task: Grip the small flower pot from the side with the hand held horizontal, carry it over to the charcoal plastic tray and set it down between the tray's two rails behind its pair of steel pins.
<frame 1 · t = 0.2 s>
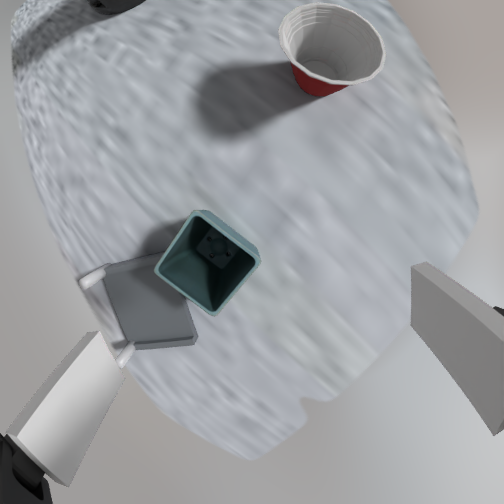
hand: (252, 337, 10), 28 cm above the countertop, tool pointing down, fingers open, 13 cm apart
flower pot: (219, 246, 38), on the countertop
plastic cup: (316, 76, 32), on the countertop
tray: (149, 301, 41), on the countertop
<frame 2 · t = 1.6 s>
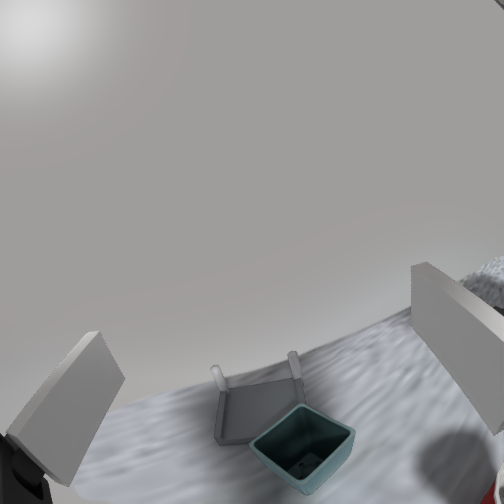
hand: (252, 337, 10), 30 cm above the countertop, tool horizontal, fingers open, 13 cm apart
flower pot: (309, 472, 28), on the countertop
tray: (263, 413, 41), on the countertop
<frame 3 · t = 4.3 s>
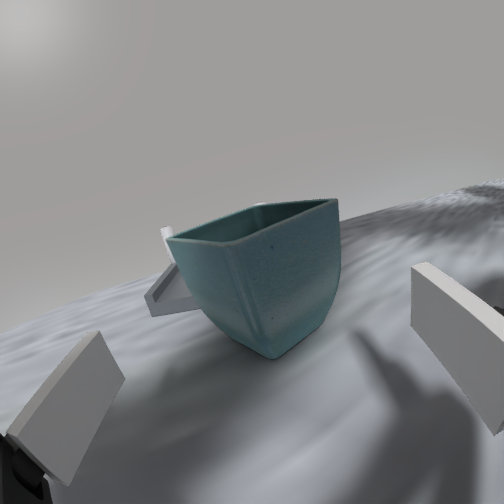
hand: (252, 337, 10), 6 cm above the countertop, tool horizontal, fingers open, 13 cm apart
flower pot: (276, 335, 21), on the countertop
tray: (220, 282, 34), on the countertop
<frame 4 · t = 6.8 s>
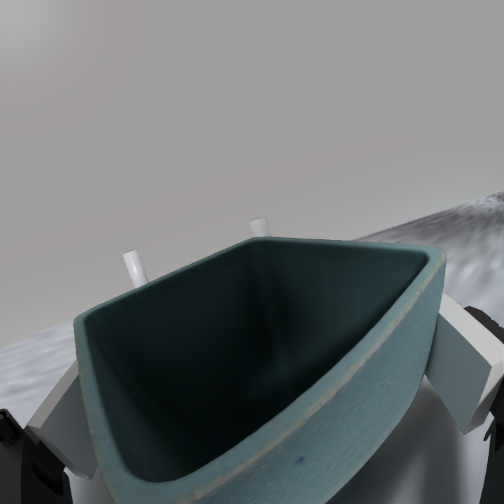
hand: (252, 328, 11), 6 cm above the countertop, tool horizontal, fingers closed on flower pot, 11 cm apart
flower pot: (286, 465, 10), on the countertop, touching gripper
tray: (202, 336, 23), on the countertop
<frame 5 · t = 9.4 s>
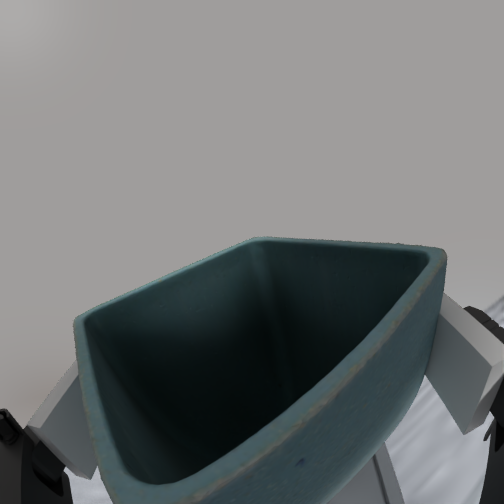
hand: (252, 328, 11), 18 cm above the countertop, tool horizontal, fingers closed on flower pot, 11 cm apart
flower pot: (286, 465, 10), point 12 cm above the countertop, touching gripper
when the fingers open (8 cm above the countertop, at t = 12.1 s): flower pot stays where it is, resting on tray.
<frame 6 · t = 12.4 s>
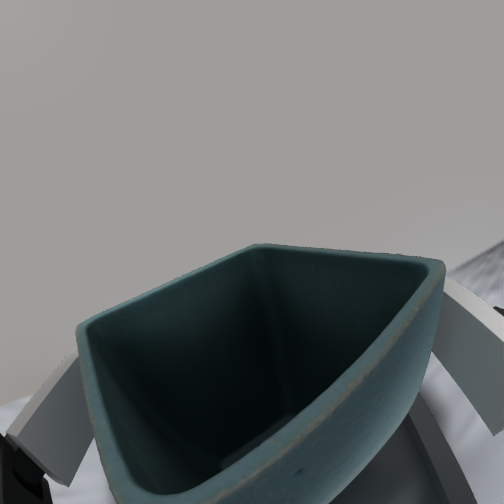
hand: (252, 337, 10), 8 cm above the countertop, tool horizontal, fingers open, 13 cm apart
flower pot: (286, 469, 10), point 1 cm above the countertop, touching tray
tray: (289, 479, 10), on the countertop
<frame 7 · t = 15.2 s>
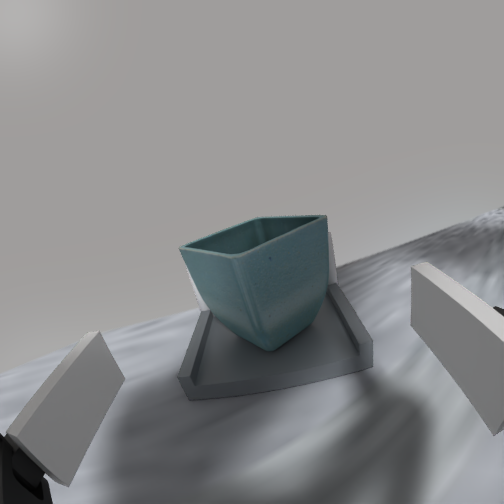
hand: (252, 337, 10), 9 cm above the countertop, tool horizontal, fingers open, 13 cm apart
flower pot: (273, 332, 24), point 1 cm above the countertop, touching tray
tray: (275, 343, 24), on the countertop
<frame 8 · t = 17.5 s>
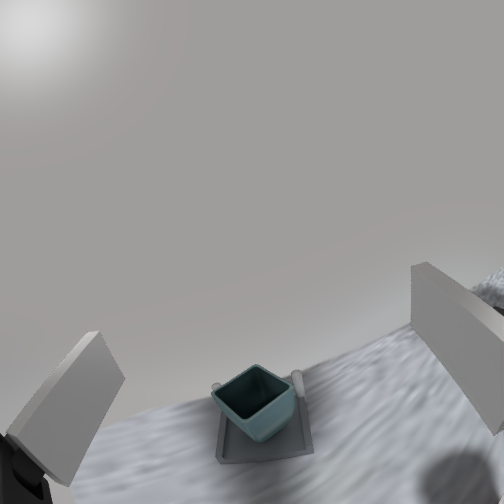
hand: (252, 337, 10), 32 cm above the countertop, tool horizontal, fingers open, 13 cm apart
flower pot: (264, 427, 38), point 1 cm above the countertop, touching tray
tray: (265, 431, 39), on the countertop
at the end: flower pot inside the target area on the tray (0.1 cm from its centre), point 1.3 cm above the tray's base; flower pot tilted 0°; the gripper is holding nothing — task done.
